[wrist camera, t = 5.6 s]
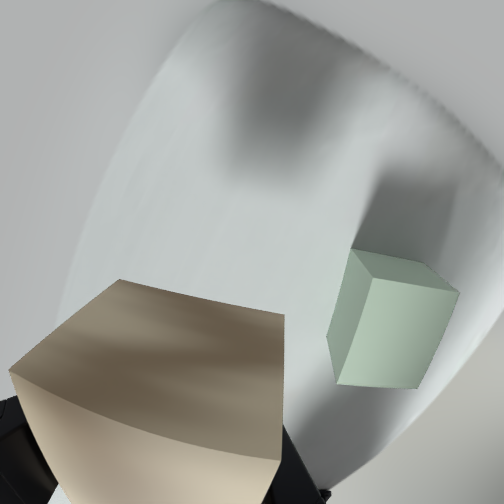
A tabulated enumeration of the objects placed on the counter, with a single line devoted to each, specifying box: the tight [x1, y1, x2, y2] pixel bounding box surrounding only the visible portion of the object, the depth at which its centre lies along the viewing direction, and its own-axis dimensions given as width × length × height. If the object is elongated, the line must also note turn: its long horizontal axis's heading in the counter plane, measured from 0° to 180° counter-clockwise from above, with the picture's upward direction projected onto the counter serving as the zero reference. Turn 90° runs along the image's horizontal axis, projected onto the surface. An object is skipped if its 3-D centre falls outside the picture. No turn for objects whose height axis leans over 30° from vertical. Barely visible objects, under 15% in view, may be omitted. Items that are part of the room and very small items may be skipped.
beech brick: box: [9, 279, 284, 504], centre depth 7 cm, size 5×6×5 cm
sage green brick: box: [326, 248, 459, 389], centre depth 16 cm, size 5×6×5 cm
